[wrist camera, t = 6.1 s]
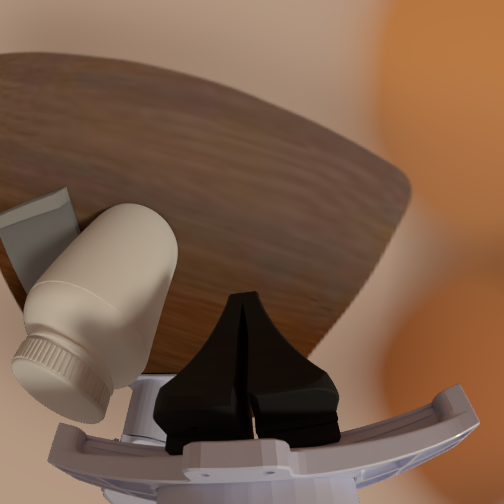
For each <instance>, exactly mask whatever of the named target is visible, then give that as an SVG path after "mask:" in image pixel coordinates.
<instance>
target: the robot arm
mask: <svg viewBox="0 0 504 504" xmlns="http://www.w3.org/2000/svg"><path fill="white" fill-rule="evenodd" d="M129 386H130V387H131V389H132V390H133V393H132V397H131V401H130V404H129V409H128V413H127V417H126V421H125V425H124V430H123V434H122V436H121V440H120V441H119V439H116V438H115V439H114V440H109V439H103V438H99V437H94V436H89V435H86V434H85V432H83V431H82V430H81V429H79V428H77V427H75V426H72V425H68V424H64V423H59V425H58V428H57V431H56V434H55V437H54V440H53V443H52V447H51V450H50V453H49V457H48V462H49V463H50V464H52V465H54V466H55V467H57V468H58V469H60V470H62V471H63V472H65V473H67V474H68V475H70V476H72V477H74V478H75V479H78V480H80V481H83V482H86V483H89V484H92V485H95V486H99V487H101V490H102V492H103V496H104V497H105V498H106V499H107V500H108V501H109V502H110V503H111V504H360V502H359V497H358V493H357V489H361V488H363V487H366V486H369V485H372V484H375V483H378V482H380V481H383V480H386V479H388V478H391V477H393V476H395V475H398V474H400V473H402V472H404V471H407V470H409V469H411V468H413V467H416V466H418V465H420V464H422V463H424V462H426V461H428V460H430V459H432V458H434V457H436V456H438V455H439V454H442V453H443V452H445V451H447V450H449V449H451V448H453V447H455V446H456V445H457V444H458V443H459V442H461V441H462V440H463V439H464V438H465V437H466V436H467V435H468V434H469V433H471V432H472V431H473V430H474V429H475V428H476V427H477V426H478V425H479V424H480V421H479V419H478V417H477V415H476V413H475V411H474V409H473V407H472V406H471V403H470V402H469V400H468V398H467V396H466V394H465V392H464V390H463V389H462V387H461V386H460V384H456V385H454V386H452V387H450V388H447V389H445V390H443V391H441V392H440V393H438V394H437V395H436V396H435V397H434V399H433V401H432V403H429V404H427V405H424V406H422V407H420V408H417V409H415V410H412V411H409V412H406V413H404V414H401V415H398V416H395V417H392V418H390V419H386V420H383V421H380V422H377V423H374V424H370V425H367V426H364V427H360V428H356V429H352V430H349V431H344V432H340V430H339V426H338V422H337V421H338V416H337V412H336V410H337V406H338V402H339V394H338V391H337V389H336V387H335V385H334V383H333V381H332V380H331V378H330V377H329V375H328V374H327V372H325V371H324V370H322V369H320V368H319V367H317V366H316V365H314V364H313V363H312V362H310V361H309V360H308V359H306V358H305V357H304V356H303V355H302V354H301V353H299V352H298V351H297V350H296V349H295V348H294V347H293V346H292V345H291V344H290V343H289V342H288V341H287V340H286V339H285V338H284V337H283V336H282V334H281V333H280V332H279V331H278V329H277V328H276V327H275V325H274V324H273V322H272V321H271V319H270V318H269V316H268V315H267V313H266V311H265V309H264V308H263V305H262V303H261V301H260V298H259V295H258V292H256V291H253V292H245V293H237V294H231V295H230V296H229V298H228V301H227V303H226V306H225V308H224V311H223V313H222V315H221V317H220V319H219V321H218V323H217V325H216V327H215V328H214V330H213V332H212V333H211V335H210V337H209V338H208V340H207V341H206V343H205V344H204V345H203V347H202V348H201V350H200V351H199V352H198V353H197V354H196V356H195V357H194V358H193V359H192V360H191V361H190V362H189V364H188V365H186V366H185V367H184V368H183V369H182V370H181V371H180V372H179V373H178V374H141V375H140V376H139V377H138V378H137V379H136V380H135V381H134V382H133V383H131V384H130V385H129ZM251 407H252V410H253V414H254V417H255V428H256V434H257V435H258V439H254V433H253V423H252V412H251ZM151 500H152V501H151ZM156 501H157V502H156Z"/></svg>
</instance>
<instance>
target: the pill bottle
mask: <svg viewBox="0 0 504 504" xmlns="http://www.w3.org/2000/svg"><path fill="white" fill-rule="evenodd" d="M177 256H178V249H177V242H176V239H175V236H174V234H173V232H172V230H171V228H170V226H169V225H168V224H167V222H166V221H165V220H164V219H163V218H162V217H161V216H160V215H159V214H157V213H156V212H154V211H153V210H151V209H149V208H147V207H145V206H142V205H138V204H131V203H126V204H119V205H116V206H113V207H111V208H109V209H107V210H106V211H104V212H103V213H102V214H100V215H99V216H98V217H97V218H96V219H95V220H94V221H93V222H92V223H91V224H90V225H89V226H88V227H87V228H86V229H85V230H84V231H83V232H82V233H81V234H80V235H79V236H78V237H77V238H76V239H75V240H74V241H73V242H72V243H71V244H70V245H69V246H68V247H67V248H66V249H65V250H64V251H63V252H62V254H61V255H60V256H59V257H58V258H57V259H56V260H55V261H54V262H53V263H52V265H51V266H50V267H49V268H48V269H47V270H46V271H45V273H44V274H43V275H42V276H41V277H40V278H39V280H38V281H37V282H36V283H35V284H34V286H33V287H32V288H31V290H30V292H29V293H28V296H27V299H26V302H25V306H24V324H25V328H26V331H27V334H28V336H27V338H26V340H25V341H23V342H22V344H21V345H20V347H19V349H18V351H17V352H16V354H15V356H14V357H13V359H12V371H13V373H14V375H15V377H16V379H17V380H18V382H19V383H20V384H21V385H22V387H23V388H24V389H25V390H26V391H27V392H28V393H29V394H30V395H31V396H33V397H34V398H35V399H36V400H37V401H39V402H40V403H42V404H43V405H44V406H46V407H47V408H49V409H50V410H52V411H54V412H56V413H57V414H60V415H61V416H64V417H66V418H68V419H71V420H74V421H77V422H81V423H86V424H95V423H99V422H100V421H101V420H103V419H104V417H105V413H106V410H107V407H108V403H109V400H110V396H111V395H112V394H113V391H114V389H119V388H123V387H126V386H128V385H130V384H131V383H133V382H134V381H135V380H136V379H137V378H138V377H139V376H140V375H141V373H142V372H143V370H144V369H145V367H146V364H147V361H148V357H149V354H150V350H151V346H152V343H153V339H154V335H155V332H156V328H157V325H158V321H159V318H160V315H161V311H162V308H163V305H164V301H165V298H166V295H167V292H168V289H169V286H170V282H171V279H172V276H173V273H174V270H175V267H176V263H177Z"/></svg>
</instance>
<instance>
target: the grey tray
mask: <svg viewBox="0 0 504 504" xmlns="http://www.w3.org/2000/svg"><path fill="white" fill-rule="evenodd" d="M80 234H81V231H80V229H79V226H78V223H77V220H76V217H75V214H74V211H73V208H72V205H71V201H70V198H69V195H68V191H67V188H66V187H65V188H62V189H59V190H56V191H54V192H51V193H48V194H45V195H43V196H40V197H38V198H35V199H32V200H30V201H27V202H25V203H23V204H20V205H18V206H15V207H13V208H11V209H9V210H6V211H4V212H2V213H0V237H1V240H2V242H3V245H4V247H5V249H6V252H7V254H8V256H9V259H10V261H11V263H12V265H13V268H14V270H15V272H16V274H17V276H18V278H19V280H20V282H21V284H22V286H23V288H24V290H25V292H26V293H27V295H28V293H29V292H30V290H31V288H32V287H33V286H34V284H35V283H36V282H37V281H38V280H39V278H40V277H41V276H42V275H43V274H44V273H45V271H46V270H47V269H48V268H49V267H50V266H51V265H52V263H53V262H54V261H55V260H56V259H57V258H58V257H59V256H60V255H61V254H62V252H63V251H64V250H65V249H66V248H67V247H68V246H69V245H70V244H71V243H72V242H73V241H74V240H75V239H76V238H77V237H78V236H79V235H80Z"/></svg>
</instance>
